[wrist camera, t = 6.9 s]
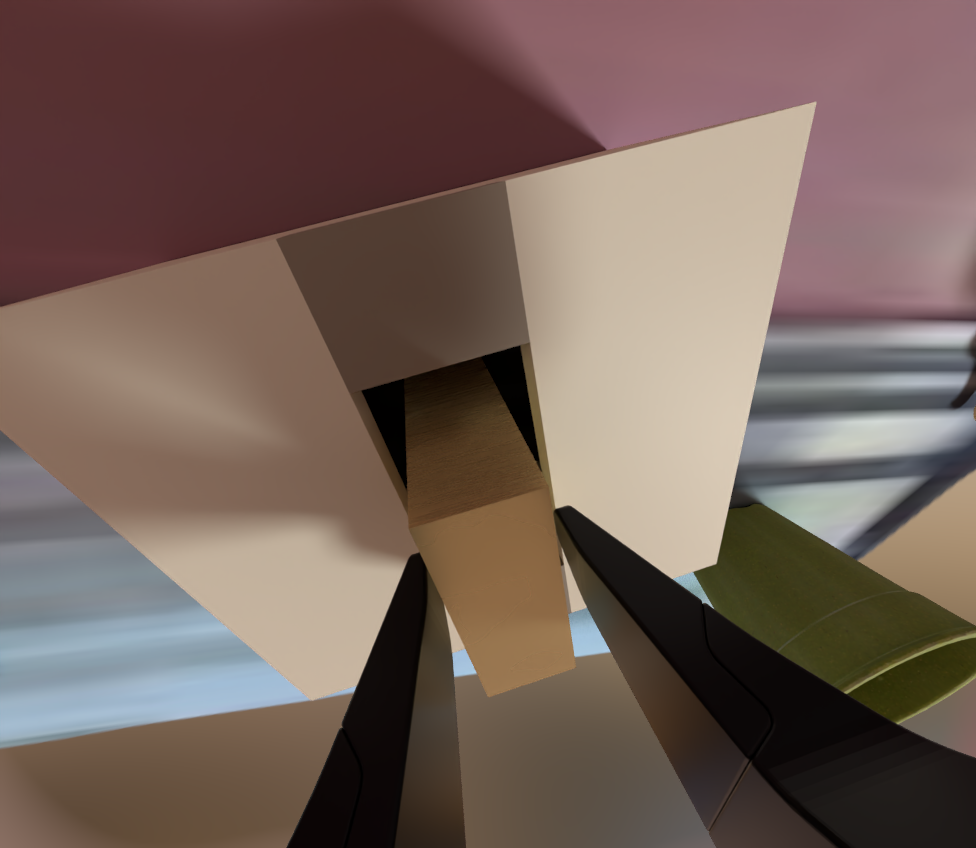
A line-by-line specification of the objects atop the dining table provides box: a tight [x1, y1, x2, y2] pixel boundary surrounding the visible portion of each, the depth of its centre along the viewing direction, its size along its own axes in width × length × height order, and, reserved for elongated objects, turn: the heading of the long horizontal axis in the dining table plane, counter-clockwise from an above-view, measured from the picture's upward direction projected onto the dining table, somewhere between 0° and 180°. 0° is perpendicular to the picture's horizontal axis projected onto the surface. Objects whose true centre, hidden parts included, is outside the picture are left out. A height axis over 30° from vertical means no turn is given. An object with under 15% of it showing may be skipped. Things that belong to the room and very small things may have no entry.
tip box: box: [0, 102, 816, 701], centre depth 13 cm, size 16×14×8 cm
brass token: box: [404, 357, 576, 697], centre depth 10 cm, size 2×6×6 cm, turn 11°
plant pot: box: [693, 504, 976, 724], centre depth 24 cm, size 12×12×11 cm
